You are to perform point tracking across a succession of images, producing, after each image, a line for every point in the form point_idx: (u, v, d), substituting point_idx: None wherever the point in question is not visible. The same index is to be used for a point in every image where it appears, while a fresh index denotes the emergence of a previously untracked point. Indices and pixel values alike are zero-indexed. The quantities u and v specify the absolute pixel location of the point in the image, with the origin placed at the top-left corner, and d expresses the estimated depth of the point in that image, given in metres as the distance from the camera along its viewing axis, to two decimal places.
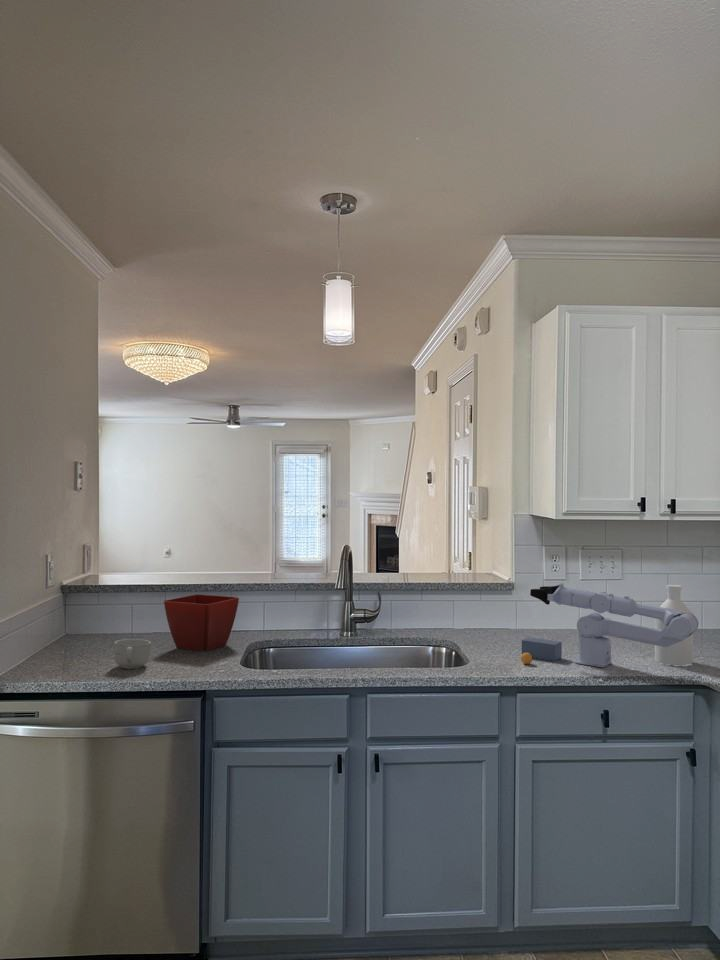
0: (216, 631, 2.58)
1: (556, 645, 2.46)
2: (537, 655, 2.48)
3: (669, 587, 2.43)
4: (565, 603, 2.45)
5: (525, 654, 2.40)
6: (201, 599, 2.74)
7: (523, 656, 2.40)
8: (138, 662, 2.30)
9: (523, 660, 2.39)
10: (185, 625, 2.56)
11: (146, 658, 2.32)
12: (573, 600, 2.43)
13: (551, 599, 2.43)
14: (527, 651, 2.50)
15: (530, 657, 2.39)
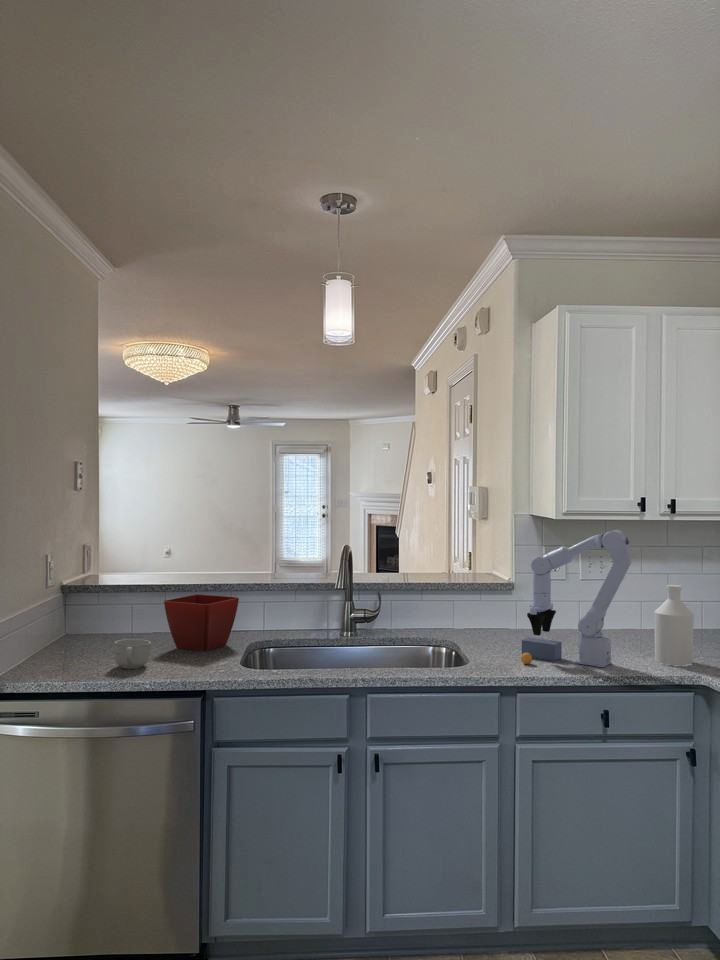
0: (216, 631, 2.58)
1: (556, 645, 2.46)
2: (537, 655, 2.48)
3: (669, 587, 2.43)
4: (545, 600, 2.48)
5: (525, 654, 2.40)
6: (201, 599, 2.74)
7: (523, 656, 2.40)
8: (138, 662, 2.30)
9: (523, 660, 2.39)
10: (185, 625, 2.56)
11: (146, 658, 2.32)
12: (540, 591, 2.48)
13: (534, 610, 2.44)
14: (527, 651, 2.50)
15: (530, 657, 2.39)
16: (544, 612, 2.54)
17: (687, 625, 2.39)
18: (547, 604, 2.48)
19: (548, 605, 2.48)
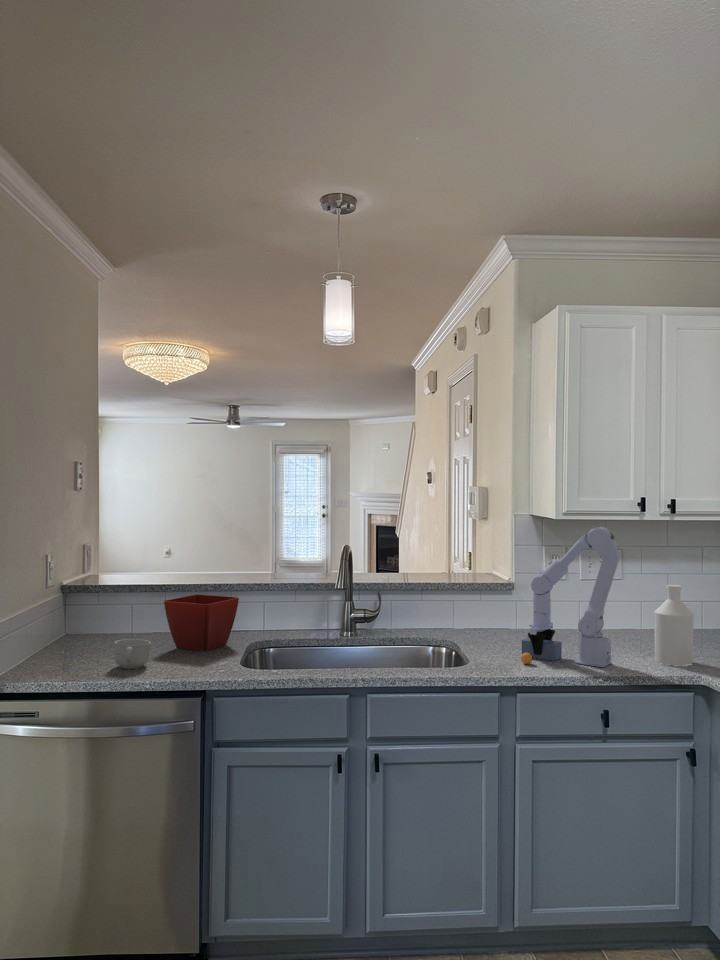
0: (216, 631, 2.58)
1: (556, 645, 2.46)
2: (537, 655, 2.48)
3: (669, 587, 2.43)
4: (545, 620, 2.48)
5: (525, 654, 2.40)
6: (201, 599, 2.74)
7: (523, 656, 2.40)
8: (138, 662, 2.30)
9: (523, 660, 2.39)
10: (185, 625, 2.56)
11: (146, 658, 2.32)
12: (540, 611, 2.48)
13: (534, 630, 2.44)
14: (527, 651, 2.50)
15: (530, 657, 2.39)
16: (543, 632, 2.53)
17: (687, 625, 2.39)
18: (547, 624, 2.48)
19: (548, 625, 2.48)
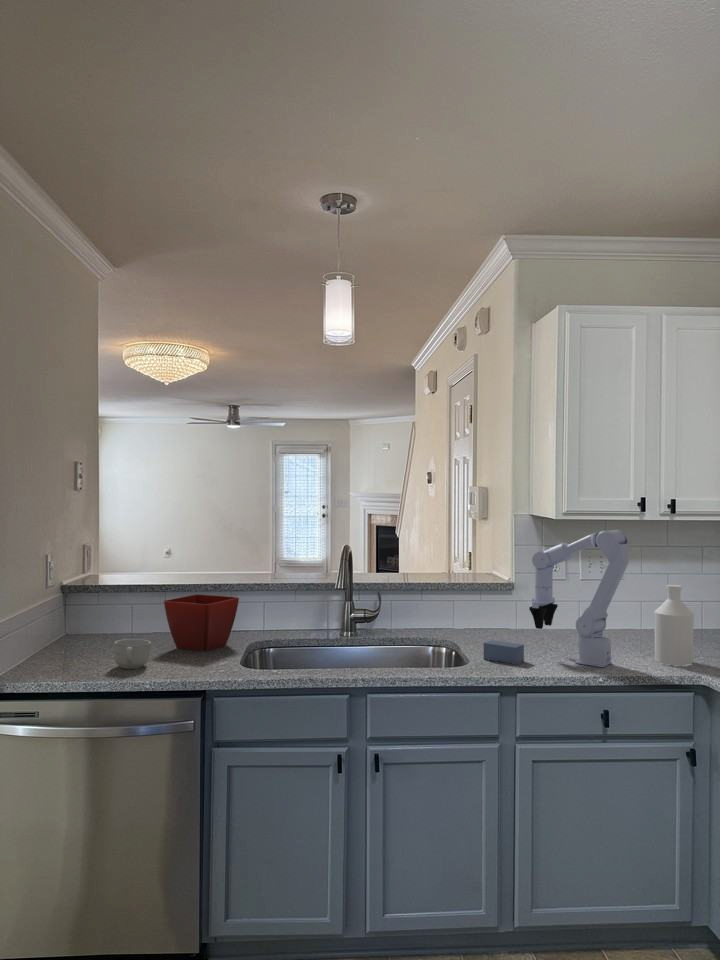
0: (216, 631, 2.58)
1: (518, 648, 2.41)
2: (499, 658, 2.43)
3: (669, 587, 2.43)
4: (547, 594, 2.51)
5: None
6: (201, 599, 2.74)
7: None
8: (138, 662, 2.30)
9: None
10: (185, 625, 2.56)
11: (146, 658, 2.32)
12: (540, 585, 2.52)
13: (536, 604, 2.48)
14: (489, 654, 2.45)
15: None
16: (546, 606, 2.57)
17: (687, 625, 2.39)
18: (549, 598, 2.52)
19: (550, 599, 2.52)
